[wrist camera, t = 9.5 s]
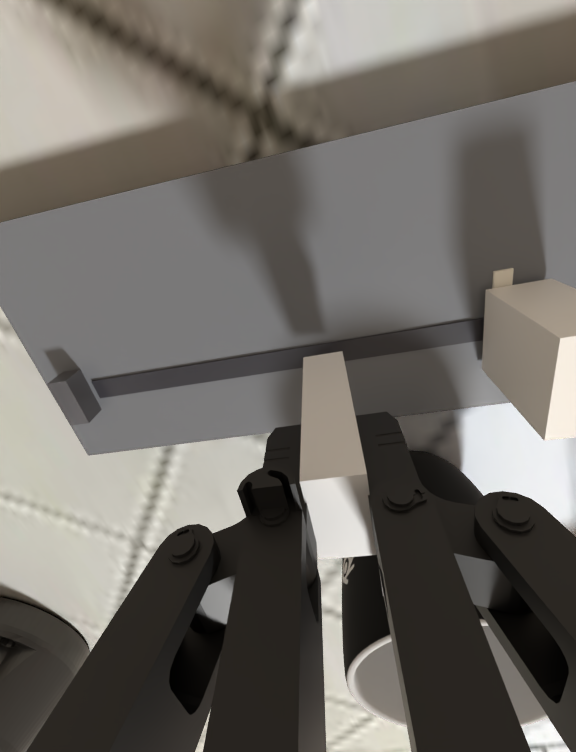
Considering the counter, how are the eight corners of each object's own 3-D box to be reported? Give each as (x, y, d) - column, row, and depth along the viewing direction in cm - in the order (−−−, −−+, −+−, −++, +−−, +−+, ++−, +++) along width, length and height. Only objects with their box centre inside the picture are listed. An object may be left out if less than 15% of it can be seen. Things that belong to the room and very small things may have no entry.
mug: (321, 443, 22) (326, 628, 13) (481, 420, 20) (614, 612, 11) (351, 568, 27) (369, 760, 18) (479, 558, 25) (567, 761, 17)
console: (106, 433, 22) (70, 477, 19) (-6, 227, 17) (-83, 239, 13) (684, 355, 17) (769, 396, 14) (793, 32, 12) (971, -22, 9)
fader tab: (481, 369, 16) (548, 444, 11) (485, 289, 14) (564, 340, 10) (540, 360, 16) (632, 435, 11) (551, 278, 14) (665, 326, 9)
